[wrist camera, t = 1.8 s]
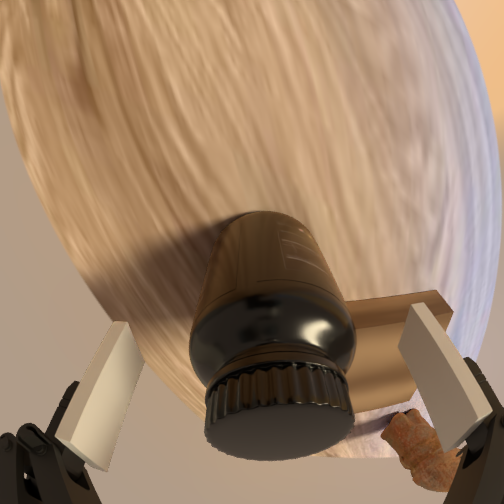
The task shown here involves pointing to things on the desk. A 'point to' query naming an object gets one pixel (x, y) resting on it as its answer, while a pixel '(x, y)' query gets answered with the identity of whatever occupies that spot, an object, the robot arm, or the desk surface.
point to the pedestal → (385, 348)
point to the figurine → (422, 451)
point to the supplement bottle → (272, 343)
